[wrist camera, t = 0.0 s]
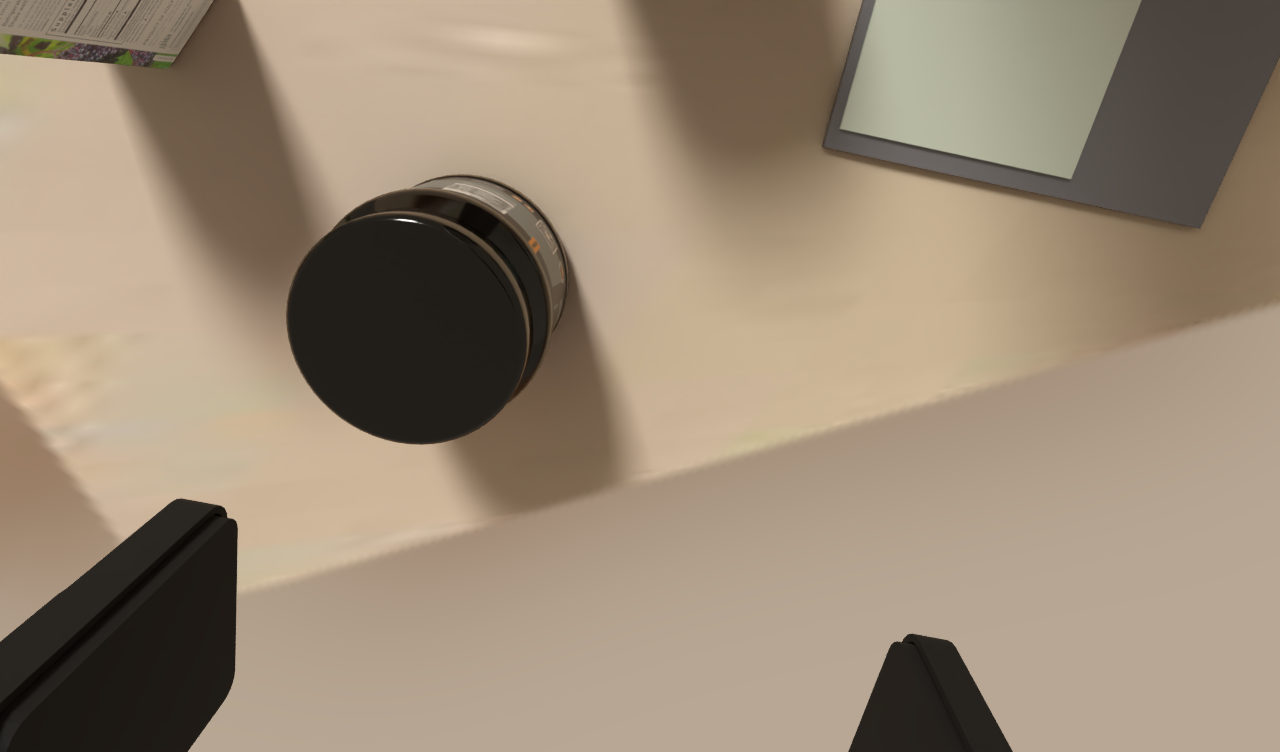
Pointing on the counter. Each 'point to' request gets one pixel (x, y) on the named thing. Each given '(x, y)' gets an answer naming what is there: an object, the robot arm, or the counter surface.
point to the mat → (1061, 94)
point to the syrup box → (100, 29)
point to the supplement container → (428, 308)
